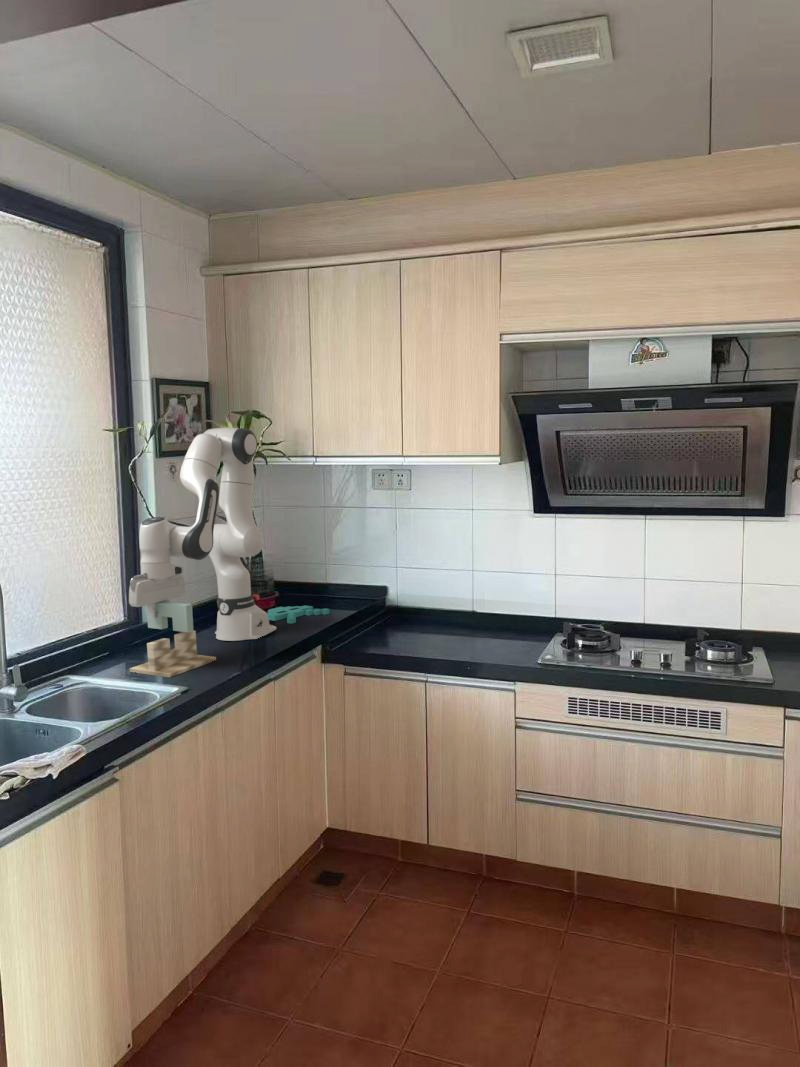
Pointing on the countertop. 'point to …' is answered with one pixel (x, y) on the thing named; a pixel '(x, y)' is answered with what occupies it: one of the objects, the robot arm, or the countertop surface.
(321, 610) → the alien figure
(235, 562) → the robot arm
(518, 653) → the countertop surface
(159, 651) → the slotted stand
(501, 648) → the countertop surface
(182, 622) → the crossbar
